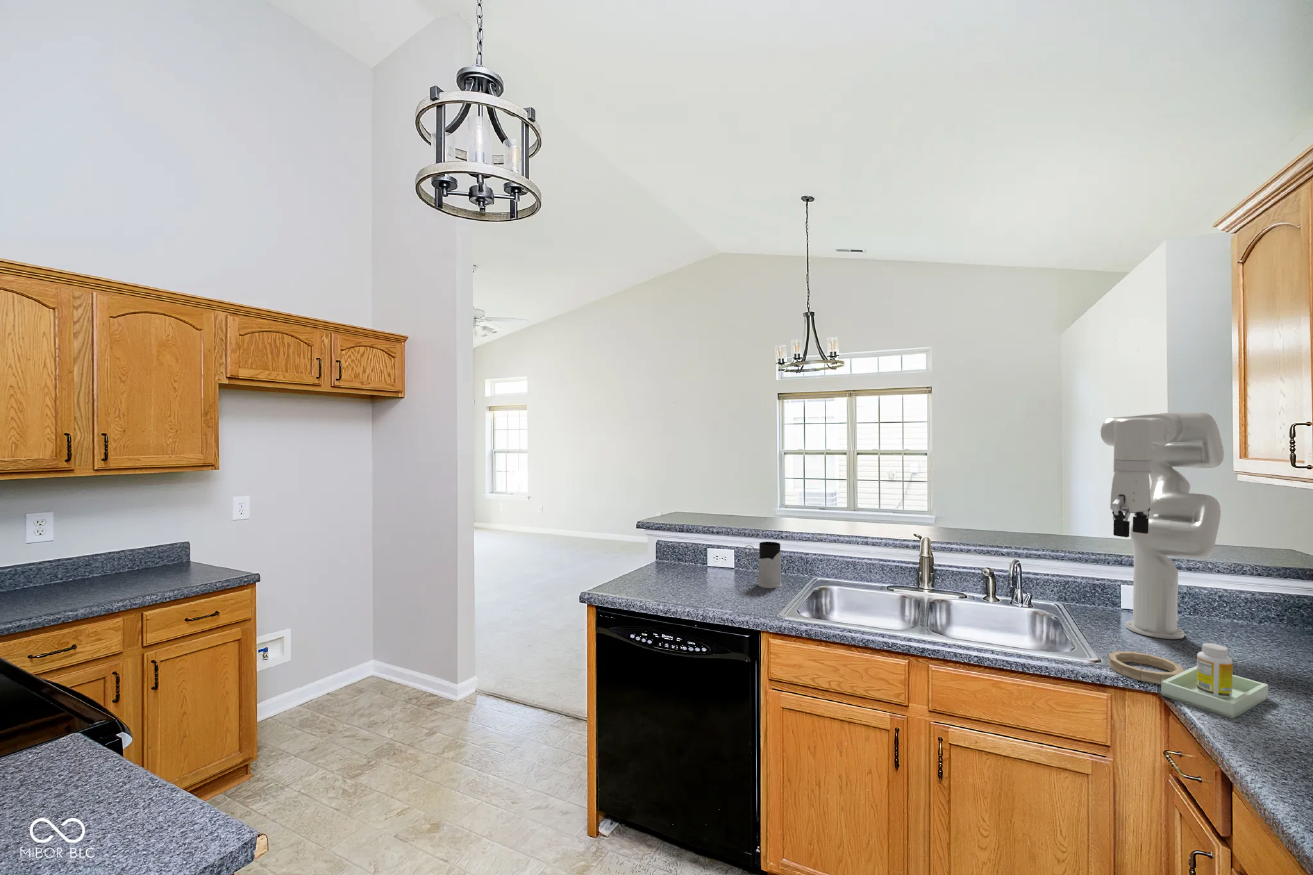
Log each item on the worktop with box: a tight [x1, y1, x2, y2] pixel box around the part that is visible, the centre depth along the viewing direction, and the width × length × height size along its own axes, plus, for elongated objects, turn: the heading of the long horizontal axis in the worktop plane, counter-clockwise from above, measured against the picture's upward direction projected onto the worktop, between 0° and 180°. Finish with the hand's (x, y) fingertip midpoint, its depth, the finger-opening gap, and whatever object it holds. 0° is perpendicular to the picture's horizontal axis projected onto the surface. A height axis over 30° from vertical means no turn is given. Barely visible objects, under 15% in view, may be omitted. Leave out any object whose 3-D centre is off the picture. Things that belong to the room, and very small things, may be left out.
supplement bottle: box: [1196, 642, 1234, 698], centre depth 127 cm, size 6×6×10 cm
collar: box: [1108, 650, 1185, 685], centre depth 140 cm, size 13×13×2 cm
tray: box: [1160, 665, 1269, 720], centre depth 127 cm, size 18×12×3 cm, turn 119°
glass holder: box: [743, 541, 783, 589], centre depth 216 cm, size 9×14×15 cm, turn 64°
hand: (1131, 534), depth 150 cm, fingers open, 9 cm apart
